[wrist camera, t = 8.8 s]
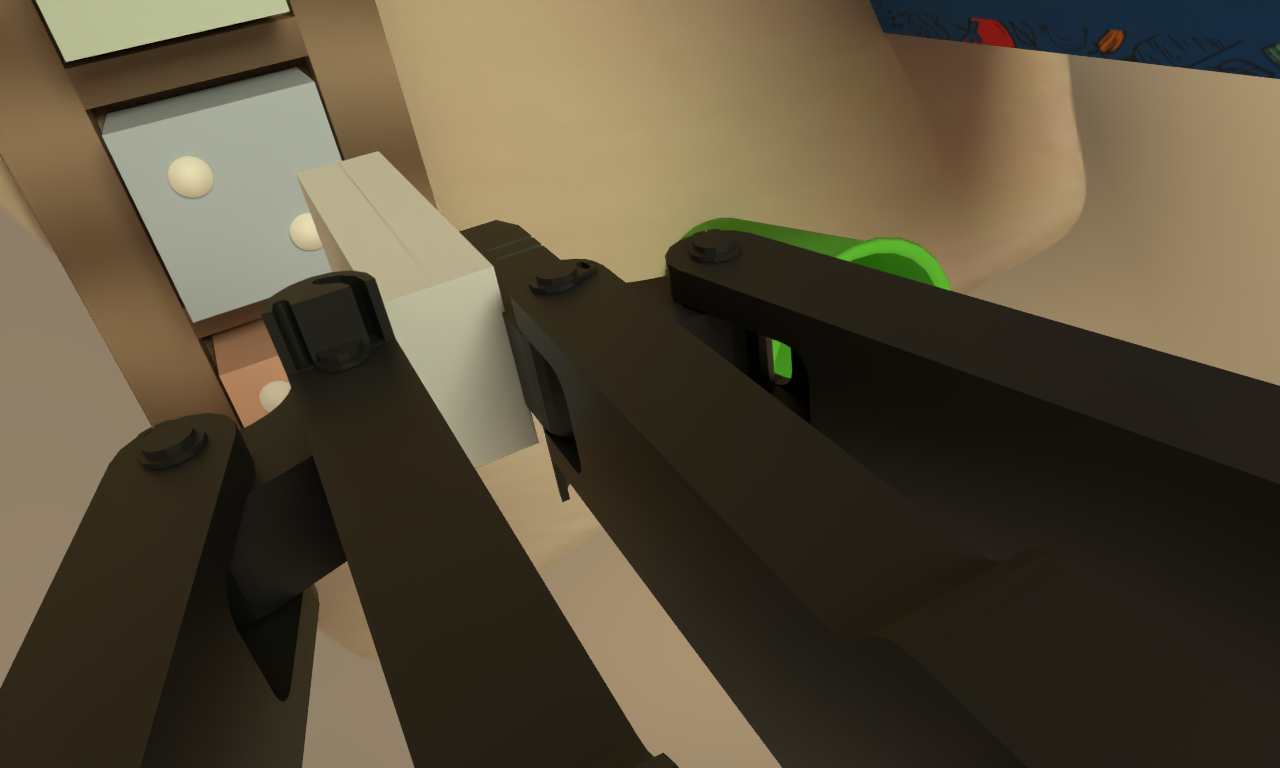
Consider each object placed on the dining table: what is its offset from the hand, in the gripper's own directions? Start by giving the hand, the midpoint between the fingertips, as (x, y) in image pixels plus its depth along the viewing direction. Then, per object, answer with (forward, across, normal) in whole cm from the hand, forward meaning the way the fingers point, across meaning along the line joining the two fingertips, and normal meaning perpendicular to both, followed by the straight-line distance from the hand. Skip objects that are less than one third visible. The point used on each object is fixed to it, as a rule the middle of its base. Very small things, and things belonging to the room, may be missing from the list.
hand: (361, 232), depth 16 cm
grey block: (+17, -2, -3) cm, 17 cm away
